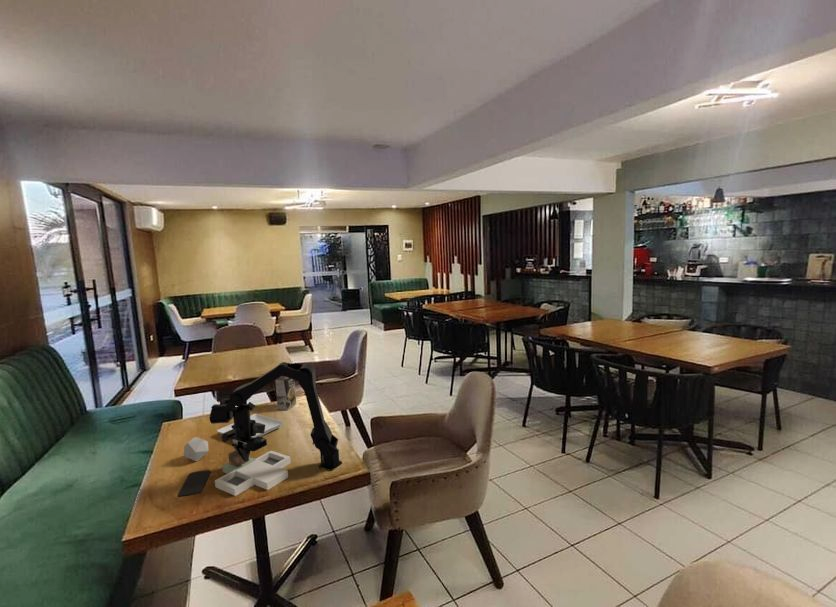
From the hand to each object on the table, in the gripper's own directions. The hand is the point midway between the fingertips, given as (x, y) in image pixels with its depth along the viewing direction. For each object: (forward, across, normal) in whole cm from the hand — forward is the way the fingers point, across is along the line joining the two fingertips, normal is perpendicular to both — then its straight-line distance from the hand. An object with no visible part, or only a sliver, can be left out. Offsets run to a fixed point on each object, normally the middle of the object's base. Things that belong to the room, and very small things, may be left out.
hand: (245, 461), depth 151 cm
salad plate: (+4, +28, -23) cm, 36 cm away
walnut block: (+2, +4, 0) cm, 4 cm away
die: (+4, +27, +3) cm, 27 cm away
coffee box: (+4, +37, -52) cm, 64 cm away
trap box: (+4, -5, 0) cm, 6 cm away
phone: (+5, +10, +14) cm, 18 cm away
